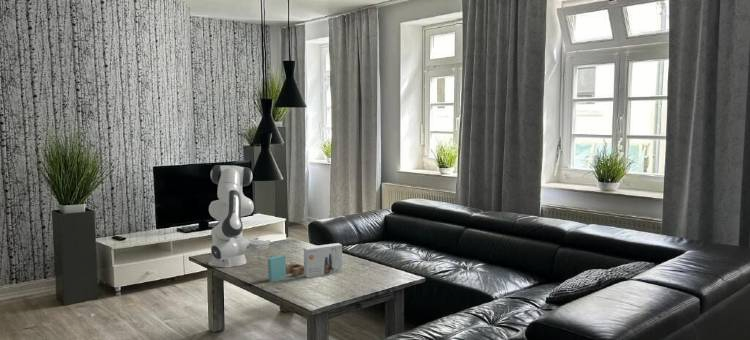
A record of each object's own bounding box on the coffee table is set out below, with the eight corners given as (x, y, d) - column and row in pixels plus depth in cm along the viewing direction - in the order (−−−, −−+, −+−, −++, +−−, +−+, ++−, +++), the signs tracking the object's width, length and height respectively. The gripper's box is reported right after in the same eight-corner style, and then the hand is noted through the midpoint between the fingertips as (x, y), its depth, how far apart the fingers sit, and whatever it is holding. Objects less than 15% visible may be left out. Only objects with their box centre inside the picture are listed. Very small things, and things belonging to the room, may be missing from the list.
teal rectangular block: (271, 281, 307) (270, 259, 305) (268, 280, 308) (267, 258, 307) (286, 277, 314) (285, 255, 313) (283, 276, 316) (282, 254, 314)
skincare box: (307, 278, 311) (306, 249, 309) (303, 276, 315) (302, 247, 314) (343, 272, 320) (342, 244, 319) (339, 270, 325) (338, 242, 323)
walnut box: (296, 276, 314) (296, 269, 314) (283, 273, 321) (283, 266, 321) (307, 273, 320) (307, 266, 320) (294, 270, 327) (293, 263, 327)
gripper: (254, 242, 285) (276, 237, 296) (229, 237, 299) (251, 232, 309) (255, 255, 286) (277, 249, 297) (230, 249, 299) (252, 243, 310)
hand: (263, 240), depth 303 cm, fingers open, 8 cm apart
